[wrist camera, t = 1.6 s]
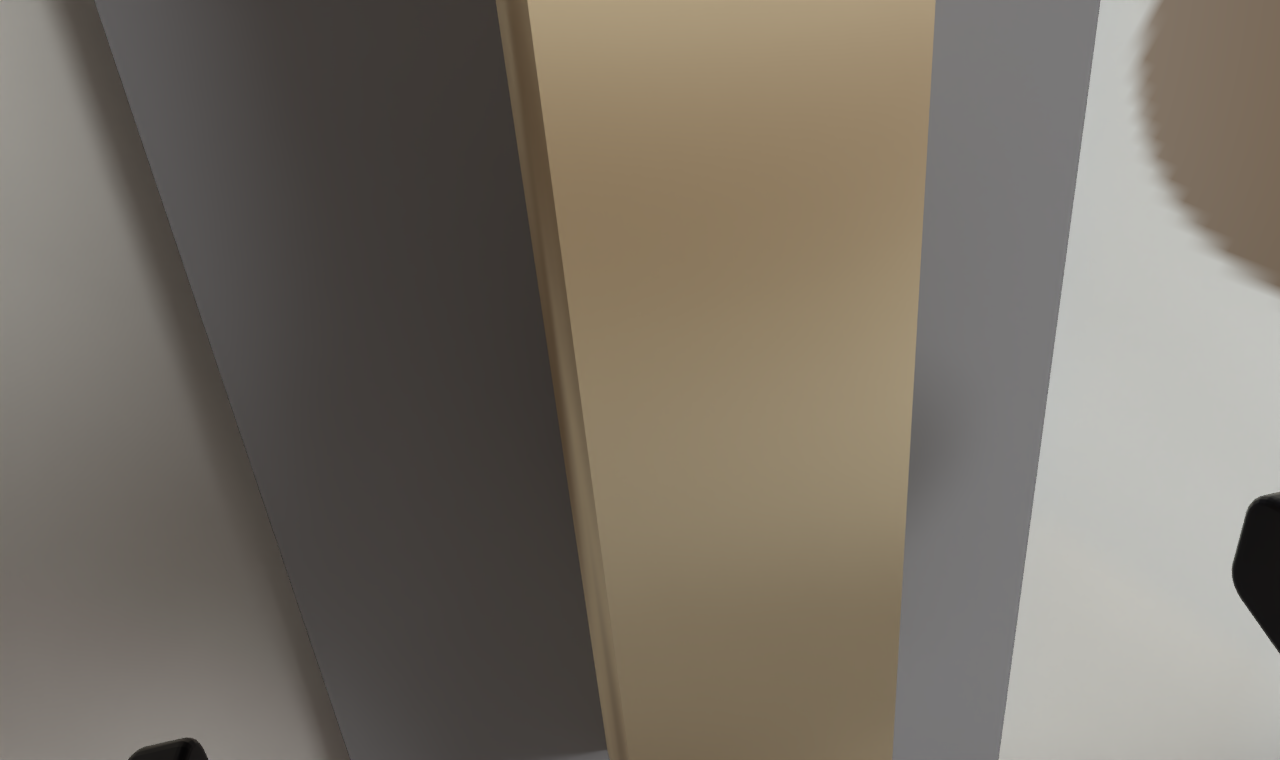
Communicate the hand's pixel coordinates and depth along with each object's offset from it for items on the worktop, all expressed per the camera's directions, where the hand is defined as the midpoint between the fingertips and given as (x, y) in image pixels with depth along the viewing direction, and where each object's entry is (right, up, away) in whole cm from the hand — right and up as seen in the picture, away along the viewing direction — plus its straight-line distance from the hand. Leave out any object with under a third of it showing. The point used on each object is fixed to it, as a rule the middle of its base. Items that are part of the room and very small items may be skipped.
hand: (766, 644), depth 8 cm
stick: (-1, +4, 0) cm, 4 cm away
